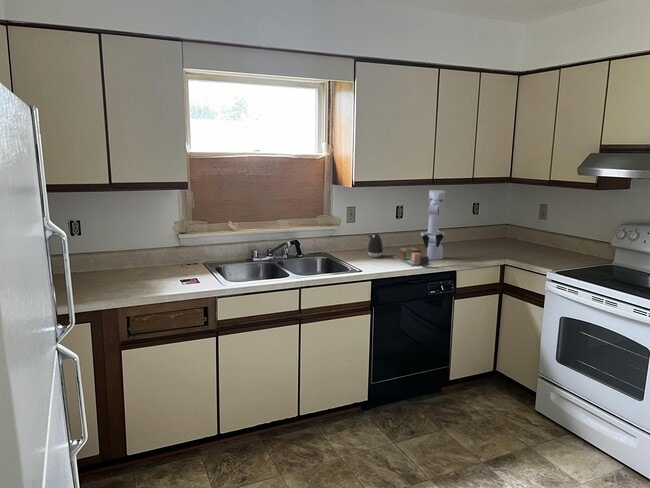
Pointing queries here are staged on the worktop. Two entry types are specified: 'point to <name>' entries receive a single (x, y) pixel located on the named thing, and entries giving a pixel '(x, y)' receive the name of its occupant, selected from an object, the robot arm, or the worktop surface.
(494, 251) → the worktop surface
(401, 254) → the tunnel
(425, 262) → the sled
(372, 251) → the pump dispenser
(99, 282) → the worktop surface
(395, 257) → the track
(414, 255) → the block
